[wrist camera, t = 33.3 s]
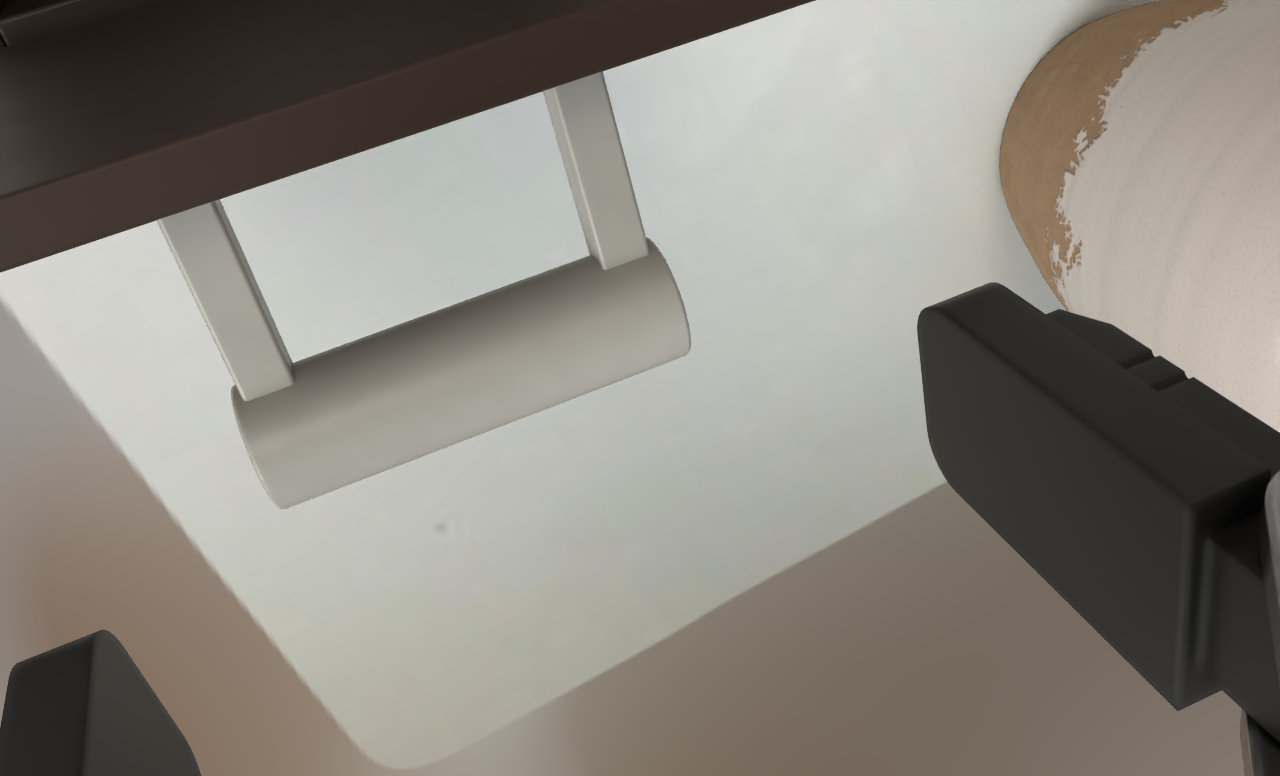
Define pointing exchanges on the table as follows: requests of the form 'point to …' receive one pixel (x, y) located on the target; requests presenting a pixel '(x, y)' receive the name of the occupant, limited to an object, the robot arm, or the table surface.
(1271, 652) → the robot arm
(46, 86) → the lid
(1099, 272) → the vase
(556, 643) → the table surface
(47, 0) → the chest
